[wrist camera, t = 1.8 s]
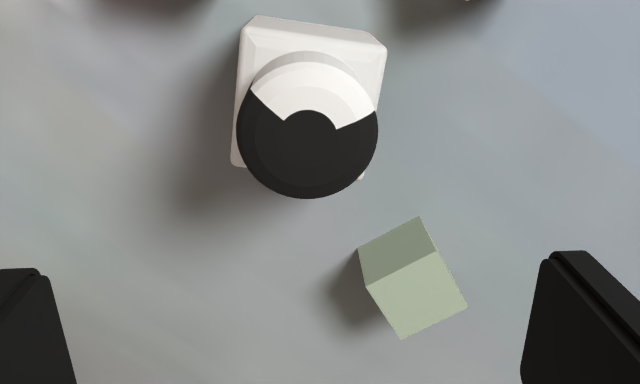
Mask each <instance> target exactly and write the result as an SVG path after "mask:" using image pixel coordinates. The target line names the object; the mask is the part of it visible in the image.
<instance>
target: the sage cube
mask: <svg viewBox="0 0 640 384" xmlns="http://www.w3.org/2000/svg"><path fill="white" fill-rule="evenodd" d="M357 249H358V254H359V259H360V263H361V268H362V273H363V278H364V282H365V287H366V288H367V290H368V291H369V293H370V294H371V296H372V297H373V299H374V300H375V302H376V303H377V305H378V307H379V308H380V310H381V311H382V313H383V314H384V316H385V317H386V319H387V320H388V322H389V323H390V325H391V326H392V328H393V329H394V331H395V332H396V334H397V335H398V337H399V338H400V340H402V339H404V338H406V337H408V336H410V335H412V334H414V333H416V332H419V331H421V330H423V329H425V328H427V327H429V326H431V325H433V324H435V323H437V322H439V321H441V320H443V319H446V318H448V317H450V316H452V315H454V314H456V313H458V312H460V311H462V310H464V309H466V308H468V305H467V303H466V302H465V300H464V298H463V296H462V294H461V292H460V290H459V288H458V286H457V284H456V282H455V280H454V278H453V276H452V274H451V272H450V270H449V268H448V266H447V264H446V263H445V261H444V259H443V257H442V256H441V254H440V252H439V250H438V249H437V247H436V245H435V243H434V242H433V240H432V238H431V236H430V234H429V233H428V231H427V229H426V227H425V226H424V224H423V222H422V220H421V219H420V217H419V216H418V217H416V218H414V219H412V220H410V221H408V222H406V223H405V224H403V225H401V226H399V227H397V228H395V229H393V230H391V231H389V232H387V233H385V234H384V235H382V236H380V237H378V238H376V239H374V240H372V241H370V242H368V243H366V244H364V245H363V246H361V247H359V248H357Z"/></svg>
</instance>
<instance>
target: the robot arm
mask: <svg viewBox="0 0 640 384" xmlns="http://www.w3.org/2000/svg"><path fill="white" fill-rule="evenodd" d="M520 375H521V380H522V383H523V384H640V301H639V300H638V299H637V298H635V297H634V296H633V295H632V294H631V293H630V292H629V291H628V290H627V289H626V288H625V287H624V286H623V285H622V284H621V283H620V282H619V281H618V280H617V279H616V278H615V277H613V276H612V275H611V274H610V273H609V272H608V271H607V270H606V269H605V268H604V267H603V266H602V265H601V264H600V263H599V262H598V261H597V260H596V259H595V258H594V257H592V256H591V255H590V254H589V253H588V252H586V251H582V250H580V251H554V252H553V253H551V255H550V256H549V258H548V259H544V260H543V261H542V262H541V264H540V268H539V273H538V278H537V283H536V289H535V294H534V299H533V304H532V309H531V314H530V319H529V324H528V330H527V335H526V340H525V345H524V350H523V355H522V360H521V365H520ZM0 384H77V382H76V378H75V375H74V371H73V367H72V363H71V359H70V356H69V352H68V348H67V344H66V340H65V336H64V333H63V329H62V325H61V321H60V317H59V313H58V310H57V306H56V302H55V298H54V294H53V291H52V287H51V283H50V280H49V278H48V277H47V276H45V275H40V273H39V271H38V270H37V269H35V268H16V269H0Z"/></svg>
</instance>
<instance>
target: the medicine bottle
mask: <svg viewBox="0 0 640 384" xmlns="http://www.w3.org/2000/svg"><path fill="white" fill-rule="evenodd" d="M386 58H387V49H386V48H385V46H383V45H382V44H381V43H380V42H379V41H378V40H376V39H375V38H374V37H373V36H372V35H371V34H370V33H368V32H366V31H361V30H354V29H348V28H341V27H334V26H328V25H321V24H314V23H308V22H301V21H294V20H287V19H281V18H274V17H267V16H261V15H257V16H255V17H253V18H252V19H251V20H250V21H249V22H248V23H247V24H246V25H245V26H244V27H243V28H242V29H241V32H240V44H239V56H238V68H237V81H236V93H235V106H234V118H233V131H232V143H231V156H230V160H231V163H232V164H233V165H234V166H236V167H245V168H248V170H249V171H250V172H251V173H252V174H253V176H254V177H255V178H256V179H257V180H258V181H260V182H261V183H262V184H263V185H265V186H266V187H268V188H269V189H271V190H273V191H275V192H277V193H279V194H282V195H285V196H288V197H293V198H300V199H315V198H321V197H326V196H329V195H332V194H335V193H337V192H339V191H341V190H343V189H344V188H346V187H348V186H349V185H350V184H352V183H353V182H354V181H360V180H361V179H362V178H363V176H364V172H365V169H366V168H367V166H368V165H369V163H370V161H371V159H372V157H373V154H374V151H375V148H376V144H377V139H378V123H377V117H376V110H377V105H378V100H379V95H380V89H381V84H382V79H383V74H384V69H385V63H386Z"/></svg>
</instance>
